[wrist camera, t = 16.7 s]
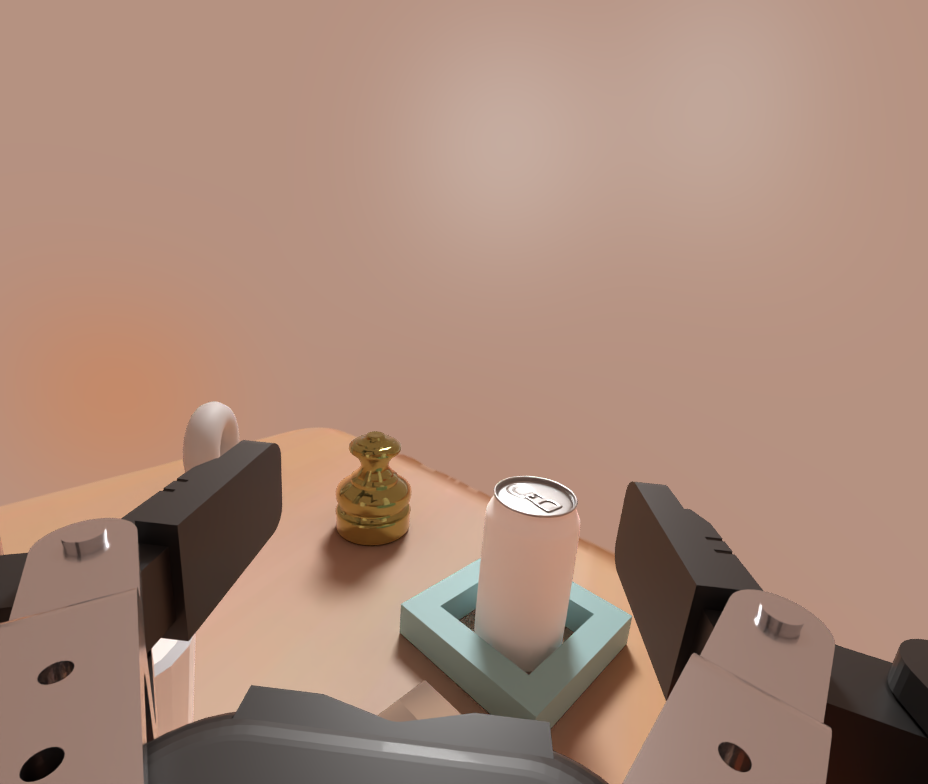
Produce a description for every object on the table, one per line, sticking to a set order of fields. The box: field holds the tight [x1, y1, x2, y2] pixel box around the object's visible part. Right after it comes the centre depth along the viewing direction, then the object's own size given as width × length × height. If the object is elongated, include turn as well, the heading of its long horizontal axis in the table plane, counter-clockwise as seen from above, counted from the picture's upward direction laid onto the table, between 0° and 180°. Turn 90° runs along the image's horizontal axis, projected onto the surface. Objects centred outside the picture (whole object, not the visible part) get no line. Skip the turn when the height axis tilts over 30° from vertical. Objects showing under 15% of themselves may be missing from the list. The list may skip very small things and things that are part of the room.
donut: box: [183, 402, 239, 473], centre depth 53 cm, size 10×4×10 cm, turn 9°
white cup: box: [152, 633, 196, 736], centre depth 25 cm, size 7×7×7 cm
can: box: [474, 476, 580, 673], centre depth 34 cm, size 6×6×12 cm
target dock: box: [400, 558, 632, 729], centre depth 36 cm, size 12×12×2 cm
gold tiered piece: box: [336, 431, 412, 545], centre depth 48 cm, size 7×7×10 cm
